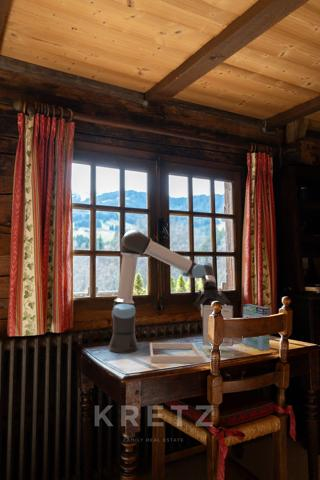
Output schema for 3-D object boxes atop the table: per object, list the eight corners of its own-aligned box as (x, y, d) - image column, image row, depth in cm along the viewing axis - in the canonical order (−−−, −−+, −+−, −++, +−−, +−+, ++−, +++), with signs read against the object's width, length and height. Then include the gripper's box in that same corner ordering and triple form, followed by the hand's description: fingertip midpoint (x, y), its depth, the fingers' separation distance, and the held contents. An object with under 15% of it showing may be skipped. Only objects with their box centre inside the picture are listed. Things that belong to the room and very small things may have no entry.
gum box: (242, 343, 212) (242, 304, 214) (249, 342, 214) (249, 303, 216) (262, 351, 194) (262, 308, 196) (270, 350, 196) (270, 307, 197)
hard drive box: (233, 343, 191) (233, 305, 192) (232, 347, 184) (232, 307, 185) (204, 341, 195) (204, 304, 196) (202, 345, 188) (202, 306, 189)
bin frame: (151, 362, 168) (151, 356, 168) (149, 348, 196) (149, 342, 196) (202, 362, 169) (202, 356, 170) (193, 348, 197) (193, 343, 198)
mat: (206, 357, 180) (206, 355, 180) (200, 347, 200) (200, 345, 200) (234, 357, 180) (234, 355, 180) (225, 347, 200) (225, 346, 200)
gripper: (229, 289, 212) (236, 319, 196) (187, 289, 211) (191, 319, 195) (231, 280, 207) (238, 311, 191) (189, 280, 206) (192, 310, 190)
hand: (214, 315), depth 193 cm, fingers closed on hard drive box, 12 cm apart
